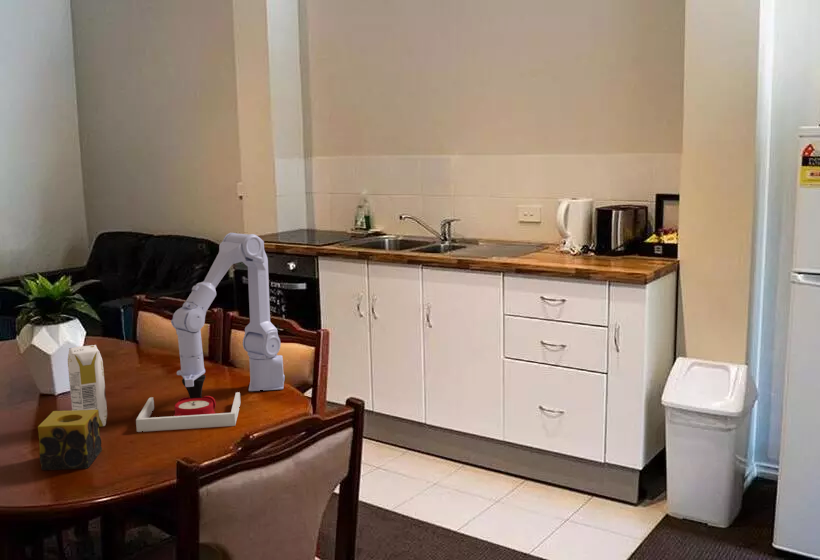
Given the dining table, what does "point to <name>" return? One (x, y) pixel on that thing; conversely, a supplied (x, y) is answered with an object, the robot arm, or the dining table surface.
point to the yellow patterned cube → (69, 440)
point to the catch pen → (185, 419)
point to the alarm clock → (195, 406)
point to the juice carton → (87, 381)
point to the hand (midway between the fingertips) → (196, 404)
